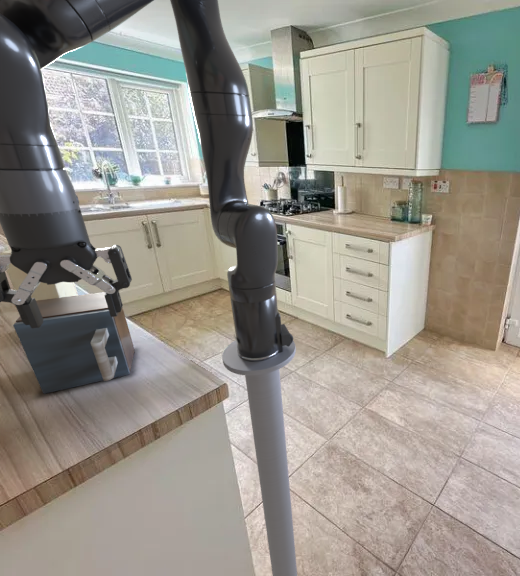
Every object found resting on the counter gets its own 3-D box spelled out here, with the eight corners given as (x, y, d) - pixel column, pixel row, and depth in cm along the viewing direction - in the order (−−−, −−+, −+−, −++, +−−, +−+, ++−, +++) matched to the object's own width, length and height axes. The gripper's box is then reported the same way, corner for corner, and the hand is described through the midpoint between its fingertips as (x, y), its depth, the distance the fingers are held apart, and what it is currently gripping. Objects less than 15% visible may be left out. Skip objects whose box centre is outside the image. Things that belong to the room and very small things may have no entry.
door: (126, 391, 62) (104, 324, 57) (32, 414, 56) (-3, 341, 50) (130, 371, 68) (110, 308, 62) (45, 390, 62) (15, 322, 56)
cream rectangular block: (90, 321, 85) (64, 243, 77) (73, 336, 79) (43, 252, 71) (53, 324, 83) (22, 244, 75) (33, 339, 77) (-3, 253, 69)
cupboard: (130, 371, 68) (110, 307, 62) (45, 390, 62) (15, 321, 56) (134, 349, 75) (117, 290, 69) (59, 364, 69) (33, 300, 63)
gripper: (-65, 213, 35) (-4, 343, 41) (105, 209, 41) (135, 321, 48) (-29, 203, 41) (20, 318, 47) (115, 200, 47) (141, 301, 54)
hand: (78, 319), depth 47 cm, fingers open, 8 cm apart
